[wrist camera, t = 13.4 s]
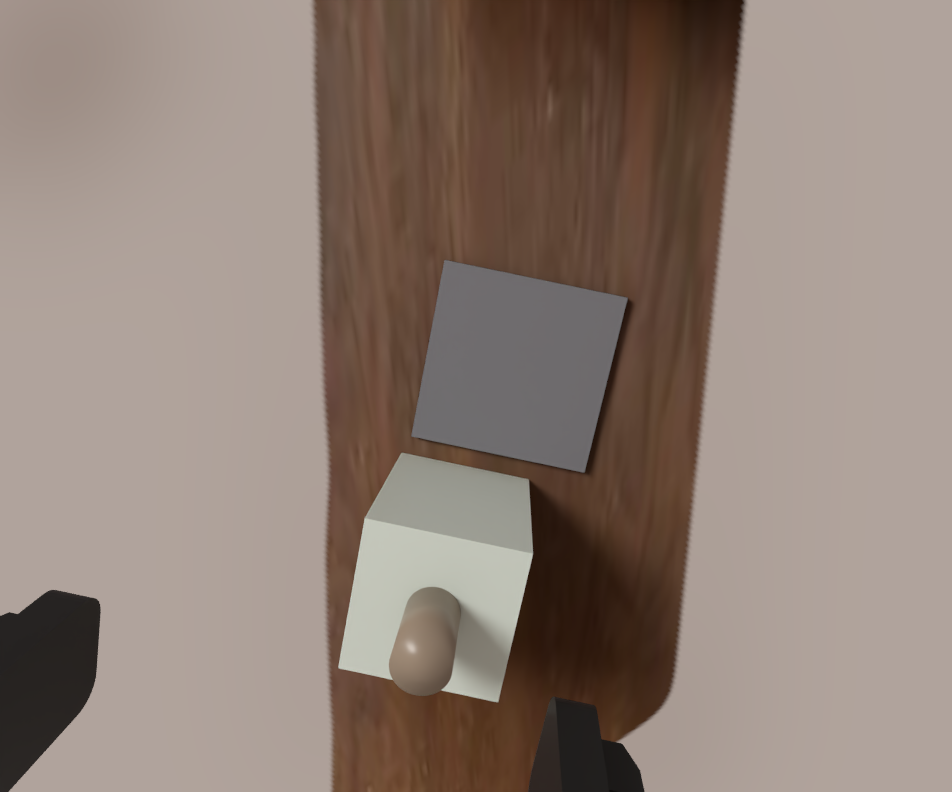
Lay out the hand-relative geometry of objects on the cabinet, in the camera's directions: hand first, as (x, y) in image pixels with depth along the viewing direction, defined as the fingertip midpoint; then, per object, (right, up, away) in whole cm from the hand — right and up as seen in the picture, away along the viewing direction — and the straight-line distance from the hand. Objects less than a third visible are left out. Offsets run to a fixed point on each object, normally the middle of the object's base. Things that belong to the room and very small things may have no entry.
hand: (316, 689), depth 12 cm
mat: (+5, +7, +34) cm, 36 cm away
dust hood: (+1, -4, +37) cm, 37 cm away
